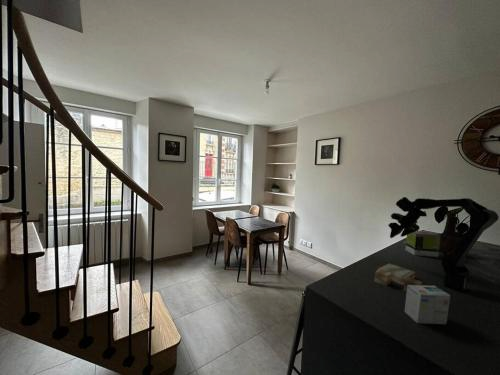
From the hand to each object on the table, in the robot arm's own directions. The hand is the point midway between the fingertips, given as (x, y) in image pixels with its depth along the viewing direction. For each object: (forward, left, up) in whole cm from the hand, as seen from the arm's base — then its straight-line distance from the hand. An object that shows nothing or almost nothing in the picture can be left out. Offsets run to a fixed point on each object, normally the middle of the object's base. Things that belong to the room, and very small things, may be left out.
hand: (395, 236), depth 131 cm
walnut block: (-19, +33, -15) cm, 41 cm away
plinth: (-9, +23, -15) cm, 28 cm away
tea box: (-5, -32, -15) cm, 36 cm away
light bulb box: (-28, +51, -15) cm, 60 cm away
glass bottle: (-14, -55, -15) cm, 59 cm away
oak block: (-8, +36, -15) cm, 39 cm away
